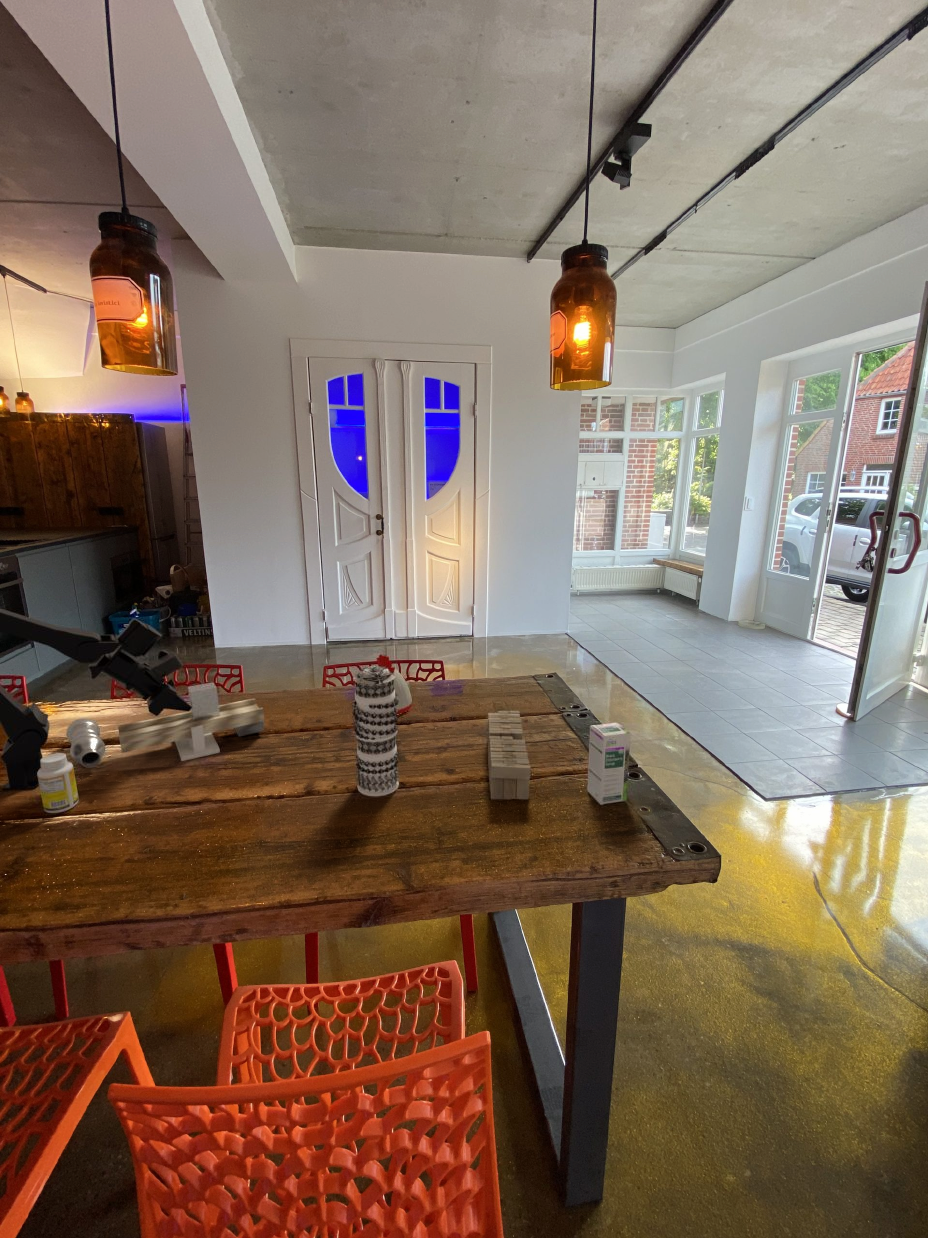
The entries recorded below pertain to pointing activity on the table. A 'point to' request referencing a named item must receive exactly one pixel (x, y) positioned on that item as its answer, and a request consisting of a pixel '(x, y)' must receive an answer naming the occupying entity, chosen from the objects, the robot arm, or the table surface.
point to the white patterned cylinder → (376, 731)
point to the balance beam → (191, 725)
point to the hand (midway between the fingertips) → (190, 709)
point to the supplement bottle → (57, 783)
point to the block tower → (507, 756)
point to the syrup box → (608, 763)
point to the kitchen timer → (398, 685)
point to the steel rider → (203, 701)
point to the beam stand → (197, 744)
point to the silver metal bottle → (85, 742)
